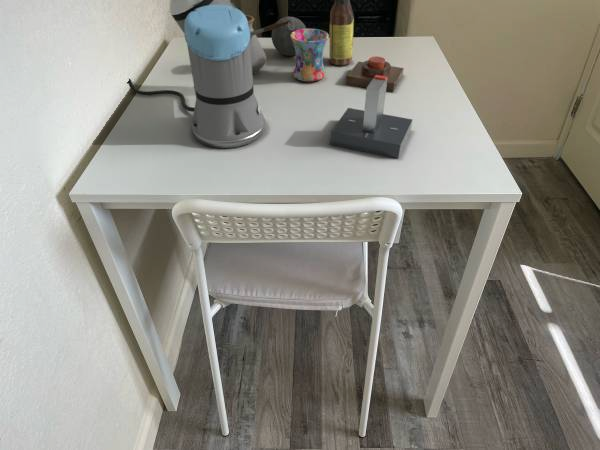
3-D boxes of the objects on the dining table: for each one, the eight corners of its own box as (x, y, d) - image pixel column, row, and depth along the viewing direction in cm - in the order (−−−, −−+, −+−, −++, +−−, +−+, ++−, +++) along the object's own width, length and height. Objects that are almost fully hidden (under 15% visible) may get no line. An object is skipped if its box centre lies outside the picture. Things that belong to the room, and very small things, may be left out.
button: (366, 68, 113) (366, 61, 112) (370, 62, 116) (371, 55, 114) (382, 70, 112) (382, 63, 110) (386, 64, 114) (386, 57, 113)
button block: (346, 84, 114) (347, 68, 112) (357, 69, 121) (359, 54, 119) (393, 92, 111) (395, 76, 108) (402, 76, 118) (404, 61, 115)
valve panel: (330, 144, 93) (331, 130, 91) (347, 120, 100) (348, 106, 98) (398, 158, 89) (400, 144, 87) (410, 132, 96) (412, 118, 94)
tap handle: (374, 133, 90) (379, 88, 84) (362, 130, 91) (366, 86, 85) (382, 119, 94) (387, 76, 88) (370, 117, 95) (375, 74, 89)
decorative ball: (313, 51, 131) (314, 15, 124) (296, 63, 124) (295, 25, 118) (284, 45, 135) (283, 9, 128) (265, 57, 128) (263, 19, 121)
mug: (314, 87, 113) (315, 44, 106) (284, 79, 117) (282, 36, 110) (338, 71, 120) (341, 29, 113) (309, 63, 124) (309, 23, 117)
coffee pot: (214, 71, 121) (206, 11, 111) (242, 57, 128) (237, 0, 118) (280, 91, 111) (278, 27, 102) (306, 75, 119) (306, 14, 109)
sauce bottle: (356, 63, 124) (362, -17, 111) (338, 68, 122) (342, -13, 109) (341, 55, 128) (345, -23, 115) (323, 60, 126) (325, -19, 113)
